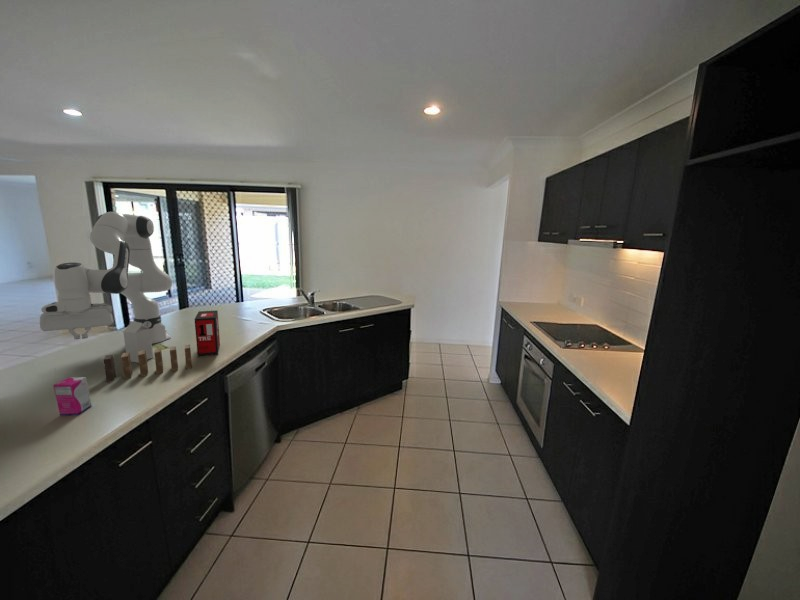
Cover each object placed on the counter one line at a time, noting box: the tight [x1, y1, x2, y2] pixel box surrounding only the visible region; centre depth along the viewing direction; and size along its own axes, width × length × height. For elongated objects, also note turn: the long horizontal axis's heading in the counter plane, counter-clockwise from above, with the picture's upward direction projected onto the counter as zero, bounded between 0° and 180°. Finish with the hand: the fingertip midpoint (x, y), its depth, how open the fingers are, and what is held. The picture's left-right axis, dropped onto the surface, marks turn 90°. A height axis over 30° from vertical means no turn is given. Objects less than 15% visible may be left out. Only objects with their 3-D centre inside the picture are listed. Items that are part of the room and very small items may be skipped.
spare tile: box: [103, 354, 117, 383], centre depth 132 cm, size 2×5×10 cm, turn 34°
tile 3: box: [138, 350, 149, 377], centre depth 138 cm, size 2×5×10 cm, turn 34°
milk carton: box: [122, 321, 154, 364], centre depth 152 cm, size 7×7×19 cm
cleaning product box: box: [194, 309, 221, 358], centre depth 167 cm, size 16×9×20 cm, turn 26°
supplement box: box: [52, 376, 93, 416], centre depth 108 cm, size 6×6×12 cm
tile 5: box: [169, 346, 179, 372], centre depth 144 cm, size 2×5×10 cm, turn 34°
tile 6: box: [183, 344, 193, 370], centre depth 147 cm, size 2×5×10 cm, turn 34°
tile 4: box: [153, 347, 164, 375], centre depth 141 cm, size 2×5×10 cm, turn 34°
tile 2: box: [120, 352, 133, 380], centre depth 135 cm, size 2×5×10 cm, turn 34°
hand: (81, 338), depth 125 cm, fingers closed
